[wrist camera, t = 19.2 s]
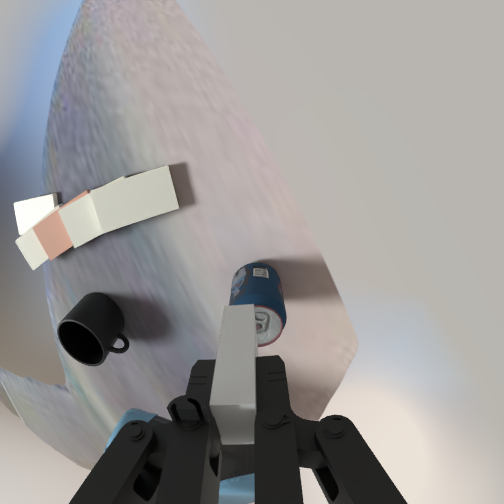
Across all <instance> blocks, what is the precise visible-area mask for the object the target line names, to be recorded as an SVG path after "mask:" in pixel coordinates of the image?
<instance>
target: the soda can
mask: <svg viewBox="0 0 504 504" xmlns="http://www.w3.org/2000/svg"><path fill="white" fill-rule="evenodd" d="M247 304H254V312H255V323H256V333H257V343H258V347H263V346H267V345H269V344H271V343H273V342H275V341H276V340H277V339H278V338H279V337H280V335H281V333H282V330H283V328H284V327H285V324H286V318H287V317H286V310H285V305H284V299H283V294H282V289H281V283H280V279H279V276H278V274H277V273H276V271H275V270H274V269H273V268H271V267H270V266H268V265H266V264H263V263H250V264H247V265H245V266H243V267H241V268H240V269H239V270H238V271H237V272H236V274H235V275H234V278H233V282H232V289H231V296H230V303H229V306H232V305H247Z"/></svg>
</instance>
